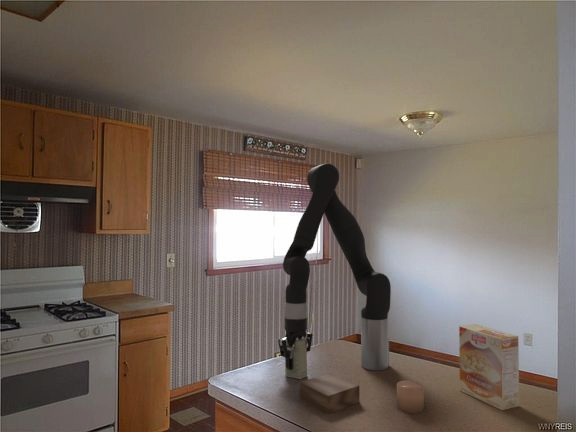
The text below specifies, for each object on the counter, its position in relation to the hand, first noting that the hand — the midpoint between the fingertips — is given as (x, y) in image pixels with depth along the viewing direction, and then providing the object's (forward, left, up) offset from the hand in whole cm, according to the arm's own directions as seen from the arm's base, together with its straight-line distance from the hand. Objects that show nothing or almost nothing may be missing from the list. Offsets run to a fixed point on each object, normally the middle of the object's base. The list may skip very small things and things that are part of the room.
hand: (295, 367), depth 136 cm
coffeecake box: (-29, +50, -3) cm, 58 cm away
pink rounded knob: (-7, +38, -3) cm, 39 cm away
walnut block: (+6, +20, -3) cm, 21 cm away
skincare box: (0, 0, -3) cm, 3 cm away
